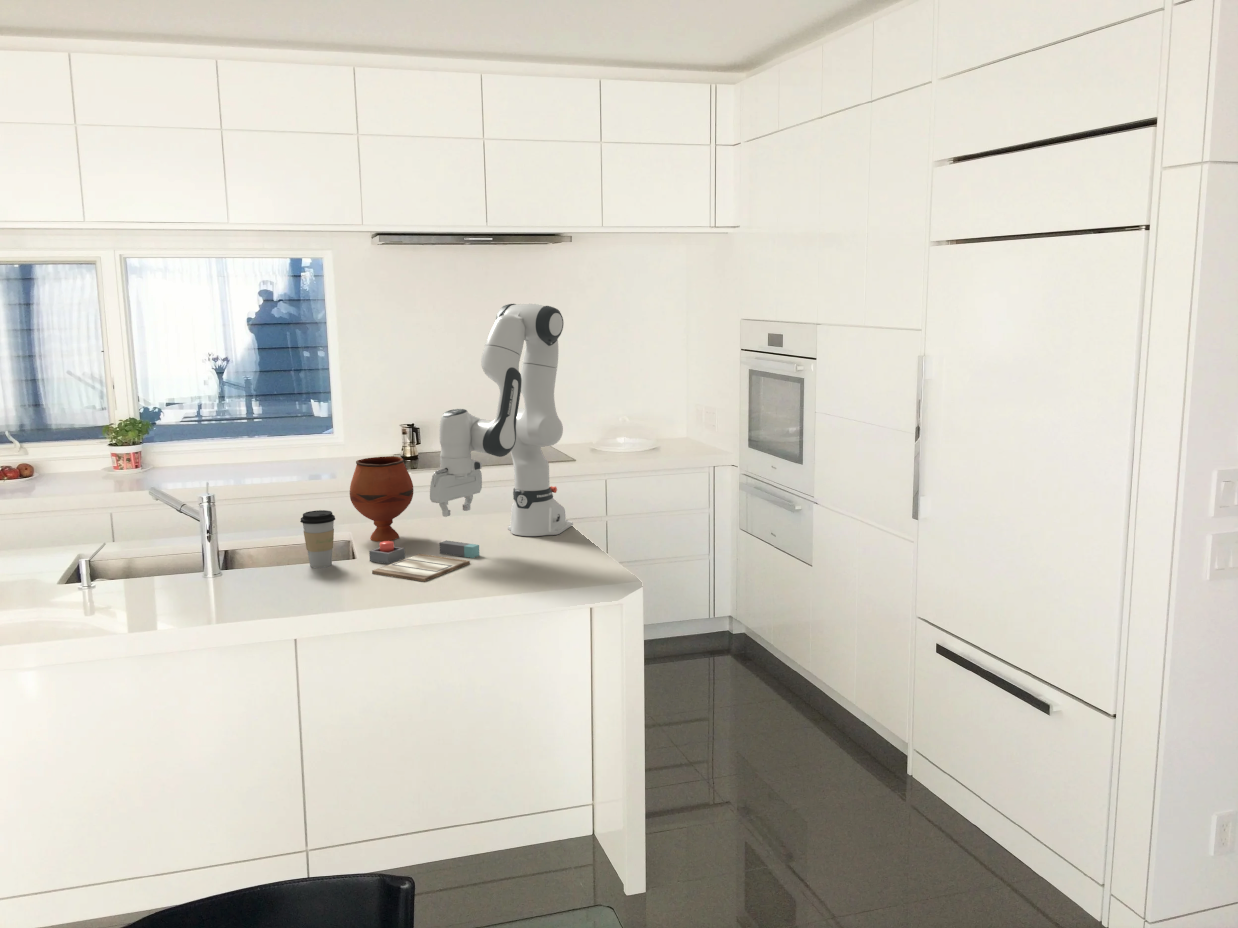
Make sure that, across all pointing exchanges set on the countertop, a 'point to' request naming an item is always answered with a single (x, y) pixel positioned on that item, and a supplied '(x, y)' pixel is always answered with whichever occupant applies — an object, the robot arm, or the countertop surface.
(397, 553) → the button housing
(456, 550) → the block
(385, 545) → the button
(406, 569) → the drawing board
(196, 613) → the countertop surface
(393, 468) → the goblet
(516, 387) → the robot arm
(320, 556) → the coffee cup
